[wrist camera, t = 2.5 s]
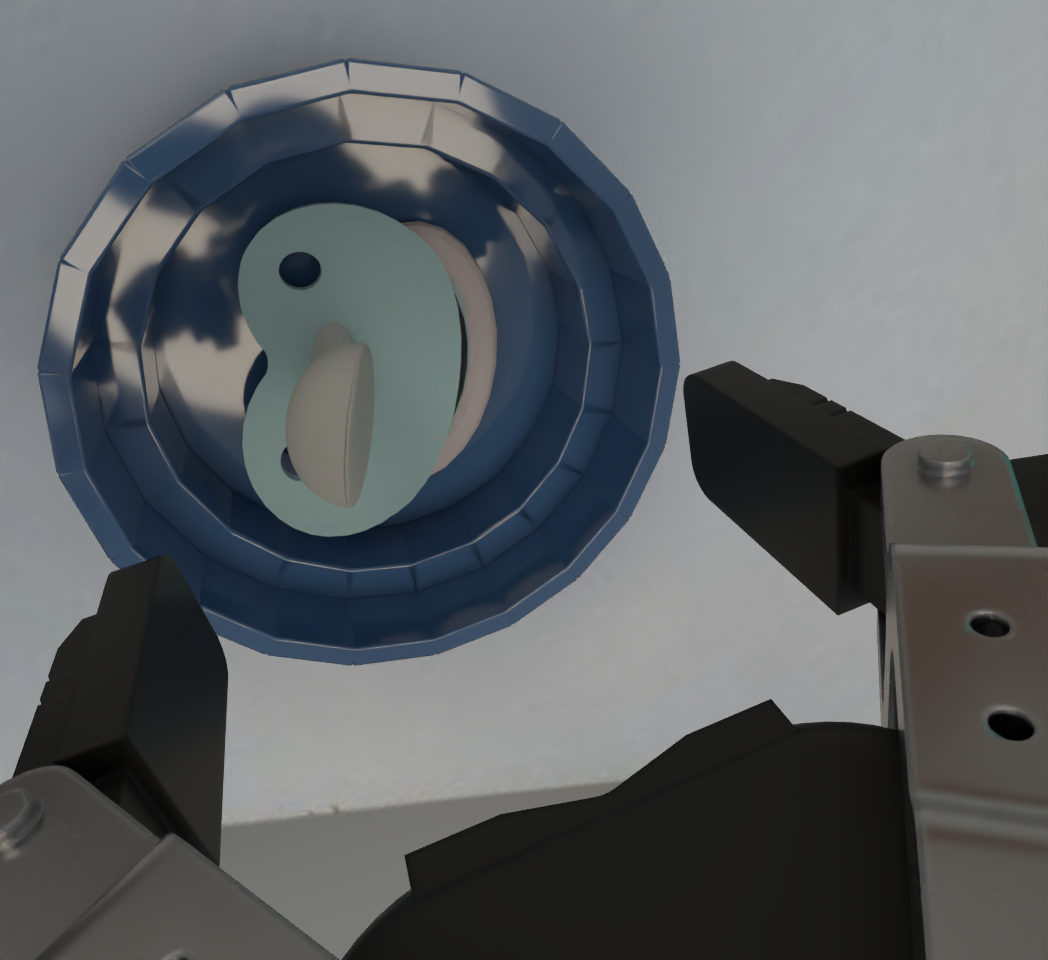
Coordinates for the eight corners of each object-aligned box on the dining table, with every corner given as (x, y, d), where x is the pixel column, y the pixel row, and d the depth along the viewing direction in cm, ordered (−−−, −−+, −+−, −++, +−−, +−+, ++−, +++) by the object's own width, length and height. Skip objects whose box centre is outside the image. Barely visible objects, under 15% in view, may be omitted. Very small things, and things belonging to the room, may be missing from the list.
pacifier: (504, 206, 18) (232, 180, 16) (621, 255, 13) (240, 226, 11) (474, 485, 21) (242, 494, 19) (559, 617, 16) (253, 650, 14)
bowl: (224, 622, 21) (219, 740, 17) (-32, 153, 15) (-128, 176, 11) (627, 474, 23) (703, 551, 19) (548, 8, 17) (636, -15, 13)
